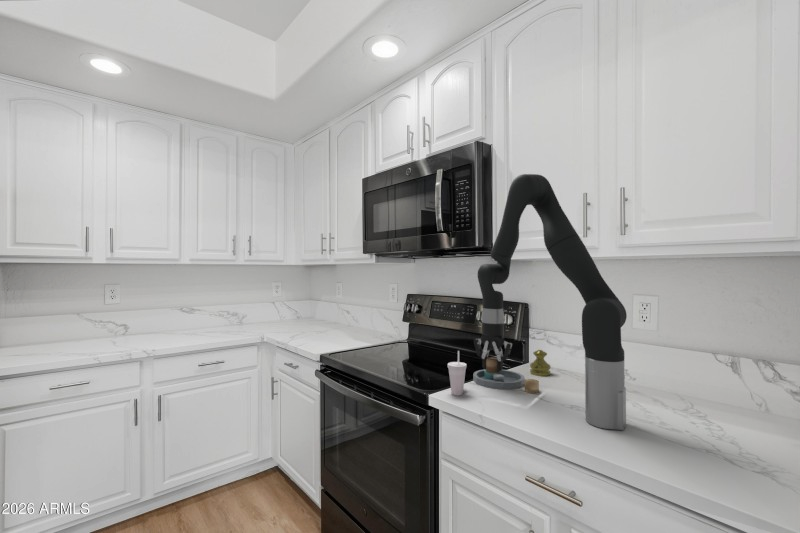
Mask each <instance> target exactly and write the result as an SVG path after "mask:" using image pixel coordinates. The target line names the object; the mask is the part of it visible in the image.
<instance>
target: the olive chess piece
mask: <svg viewBox="0 0 800 533" xmlns="http://www.w3.org/2000/svg"><path fill="white" fill-rule="evenodd" d="M532 354H533V355H534V356H535V358H536V359H535V360H533V361H532V362H530V364H529V367H530V369H529V374H530V375H533V376H537V377H549V376H551V366H552V365H551V364H549V363H548V362H547V361H546V360H545V357H546V356H547V355H548V353H547V352H546V351H544V350H542V349H538V350H535V351H533V353H532Z"/></svg>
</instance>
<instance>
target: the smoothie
mask: <svg viewBox="0 0 800 533" xmlns="http://www.w3.org/2000/svg"><path fill="white" fill-rule="evenodd" d="M447 368H448V374H449V382H450V383H449V384H450V390H451V395H454V396H462V395H463V394H464V389H465V388H464V387H465V386H464V385H465V377H466V369H467V368H468V366H467V363H465V362H461V361H460V350H457V361H450V362H448V363H447Z"/></svg>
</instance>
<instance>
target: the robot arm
mask: <svg viewBox="0 0 800 533" xmlns="http://www.w3.org/2000/svg"><path fill="white" fill-rule="evenodd" d="M530 205H531V206H532V207H533V208H534V209H535V211H536V213H537V215H538V216H539V217H540V218H539V219H540V220H541V223H542V228H543V242H544V246H545V248H546V250H547V252H548V253H549V255H550V257H551V260H553V262H554V264H555V265H556V267H557V269H559V270H560V272H562V273H563V275H564V276H565V277H566V278H567V279H568V280H569V281H570V282H571V283H572V284H573V285H574V286H575V288H576V290H578V292H579V294H580V295H581V297H582V299H583V301H584V303H585V305H584V307H583V309H582V313H581V335H582V336H581V337H582V340H581V341H582V346H583V350H584V367H585V368H584V369H585V371H584V374H585V375H584V382H585V384H584V385H585V386H584V387H585V389H584V391H585V392H584V395H585V398H584V401H585V402H584V404H585V406H584V407H585V408H584V410H585V411H584V412H585V413H584V414H585V421H586V422H587V423H588V424H589V425H592V426H594V427H597V428H600V429H605V430H616V431H617V430H619V431H624V430H625V427H626V425H627V400H626V399H627V390H626V389H627V388H626V387H625V382H626V381H625V380H626V379H625V378H626V377H625V350H624V348H623V346H622V345H623V344H622V327H623V326H624V325H625V324H626V321H627V317H628V316H627V311H626V308H625V306H624V304H623V303H622V301H621V300H620V299H619V298H618V297H617V295H616V294H615V293H614V292H613V291H612V289H611V288H610V286H609V285H608V283H607V282H606V281H605V280H604V277H603V276H602V275H601V273H600V271H599V269H598V267H597V265H596V262H594V260H593V258H592V256H591V255H590V253H589V251H588V248H587V247H586V245H585V244H584V242H583V240H582V238H581V237H580V235H579V234H578V233H577V231H576V229H575V228H574V226H573V225H572V223H571V221H570V220H569V218H568V216H567V215H566V213H565V211H564V210H563V208H562V207H561V204H560V202H559V200H558V198H557V196H556V194H555V191H554V189H553V187H552V184H551V183H550V181H549V179H547V178H546V177H545V176H543V175H541V174H533V173H528V174H527V173H522V174H519V175H517V176H516V177H514V178H513V180H511V184H510V186H509V189H508V193H507V198H506V203H505V207H504V210H503V215H502V219H501V224H500V227H499V231H498V233H497V236H496V239H495V241H494V242H493V246H492V249H491V251H490V257H491V259H492V260H494V262H496V263H483V264H481V265H480V267H479V268H478V270H477V280H478V283H479V288H480V293H481V295H482V296H481V297H482V307H481V308H482V311H481V337H480V338H477V337H476V338H475V339H473V345H474V348H475V353H476V356H478V357H480V358H481V368H483V370H484V369H485V370H486V358H489V354H490V351H493V352H494V354H495V355H496V358H497V359H498V361H497V372H501V370H504V361H506V360H508V359H509V358H510V355H511V351H512V348H513V346H514V345H513V342H508V341H506V339H505V314H504V295H503V293H502V291H499V290H496V289H495V288H494V286H493V285H502V284H504V283H505V282H506V281H508V278H509V277H510V270H511V263H512V262H511V261H512V258H513V255H514V253H515V250H516V249H517V246H518V243H519V239H520V221H521V217H522V214H523V212H524V211H525V209H526V207H527V206H530ZM482 345H483V348H482ZM503 346H504V353H503V349H502V347H503Z"/></svg>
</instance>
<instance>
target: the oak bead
mask: <svg viewBox="0 0 800 533" xmlns="http://www.w3.org/2000/svg"><path fill="white" fill-rule="evenodd" d="M539 386H540V382H539V380H538V379H534V378H526V379H525V385H524V392H525V393H528V394H538V393H539V392H540V387H539ZM539 395H540V394H538V395H537V397H539Z"/></svg>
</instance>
